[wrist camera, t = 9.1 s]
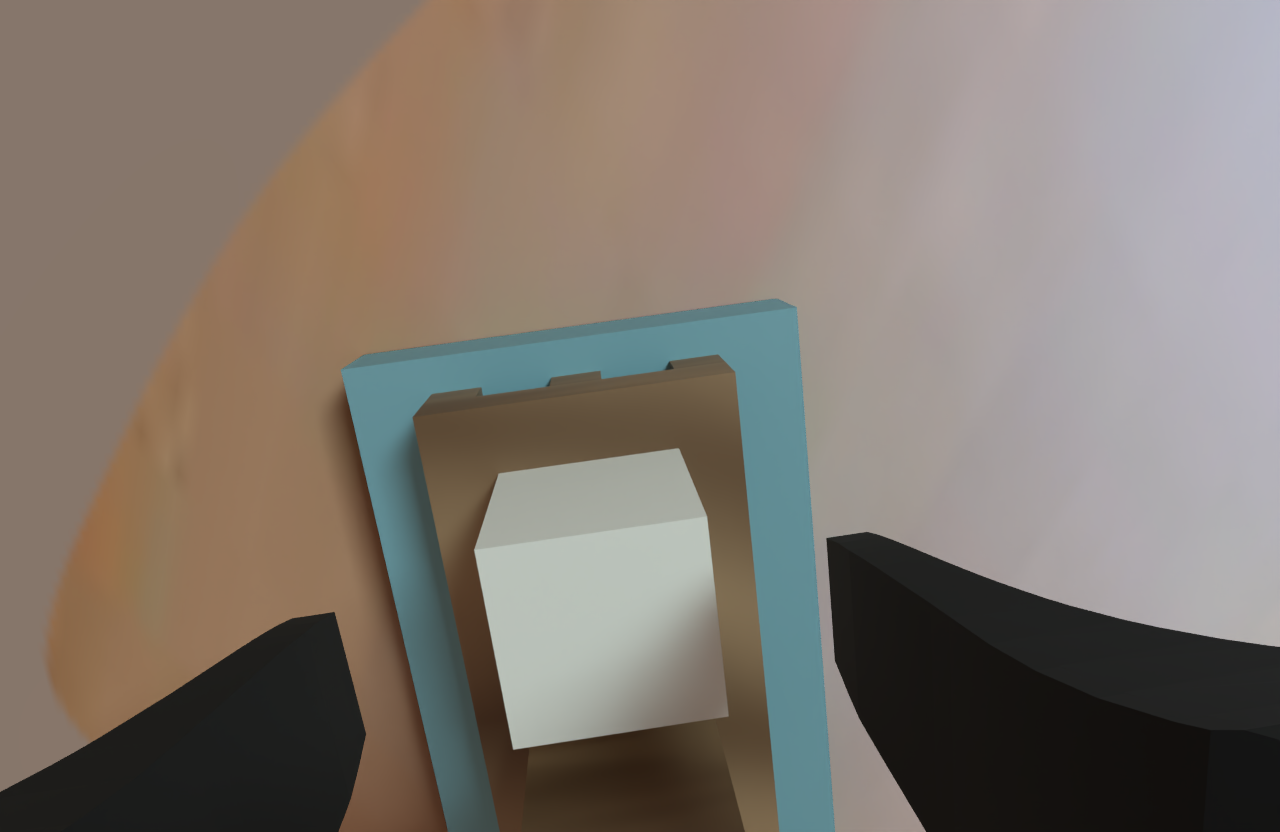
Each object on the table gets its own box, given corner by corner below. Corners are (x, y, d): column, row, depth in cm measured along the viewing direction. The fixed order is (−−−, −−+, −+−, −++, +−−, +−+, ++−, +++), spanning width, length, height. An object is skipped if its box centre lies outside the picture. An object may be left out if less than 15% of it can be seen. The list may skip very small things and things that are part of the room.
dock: (823, 894, 26) (843, 949, 24) (496, 949, 25) (489, 1009, 24) (776, 298, 21) (796, 307, 19) (364, 355, 20) (340, 369, 18)
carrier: (776, 931, 24) (875, 1294, 16) (548, 970, 23) (531, 1359, 15) (718, 354, 19) (816, 456, 11) (431, 394, 19) (320, 527, 11)
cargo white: (697, 609, 18) (728, 716, 14) (527, 634, 18) (513, 749, 14) (678, 448, 17) (707, 516, 13) (499, 473, 17) (474, 549, 13)
